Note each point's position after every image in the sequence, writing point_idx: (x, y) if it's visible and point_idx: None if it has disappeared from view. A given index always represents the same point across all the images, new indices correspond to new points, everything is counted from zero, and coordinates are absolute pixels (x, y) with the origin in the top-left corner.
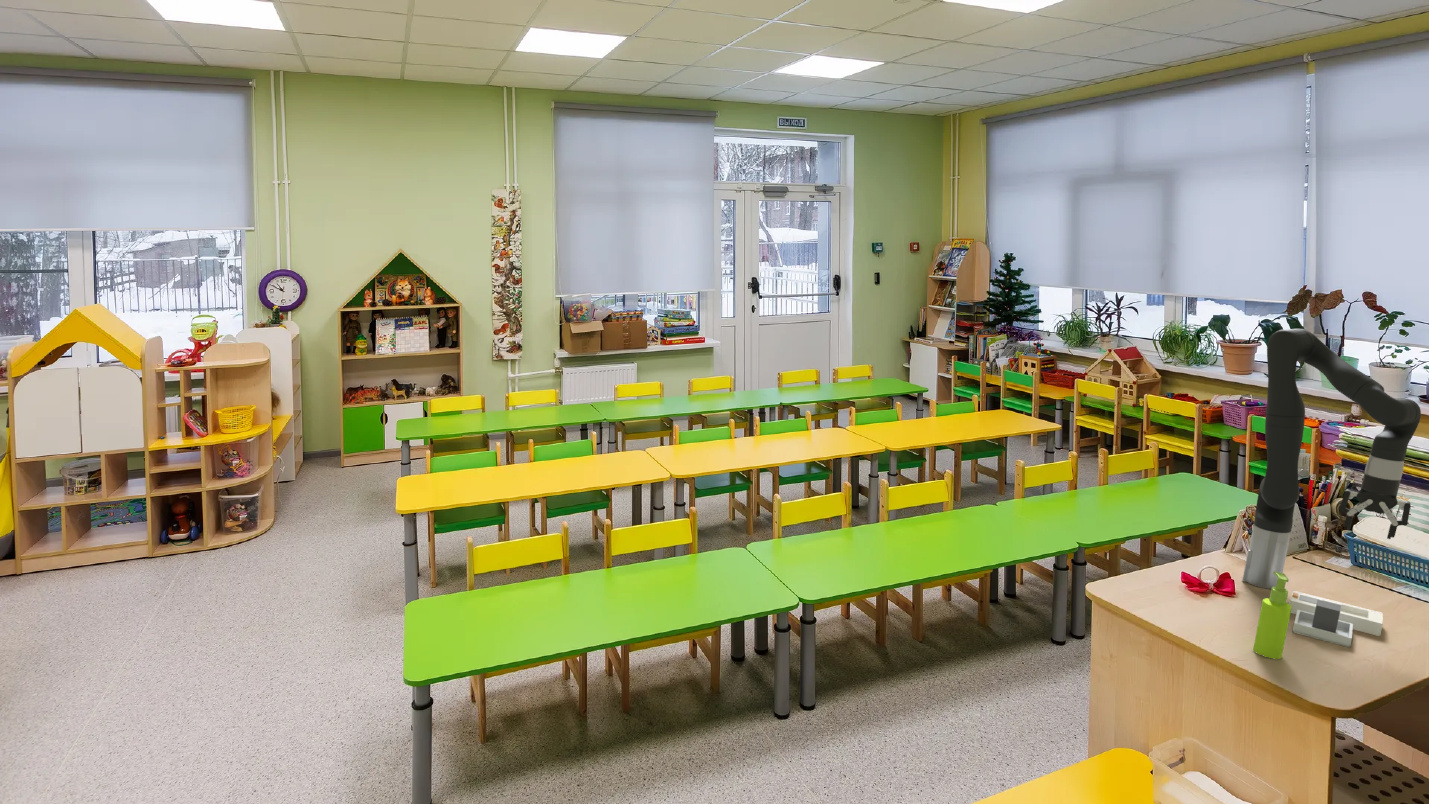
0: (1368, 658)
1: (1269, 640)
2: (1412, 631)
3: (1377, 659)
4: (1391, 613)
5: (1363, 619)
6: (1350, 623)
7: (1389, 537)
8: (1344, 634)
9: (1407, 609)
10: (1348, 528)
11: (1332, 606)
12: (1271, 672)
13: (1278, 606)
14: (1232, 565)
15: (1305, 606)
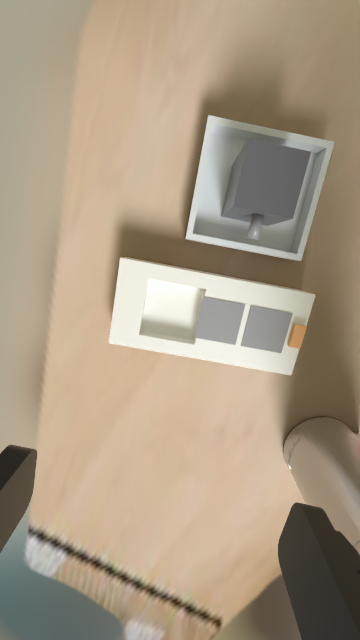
0: (175, 75)
1: None
2: (57, 335)
3: (155, 83)
4: (84, 419)
5: (160, 265)
6: (190, 237)
7: (13, 452)
8: (205, 199)
9: (51, 461)
10: (314, 510)
11: (261, 175)
12: None
13: None
14: None
15: (280, 287)
